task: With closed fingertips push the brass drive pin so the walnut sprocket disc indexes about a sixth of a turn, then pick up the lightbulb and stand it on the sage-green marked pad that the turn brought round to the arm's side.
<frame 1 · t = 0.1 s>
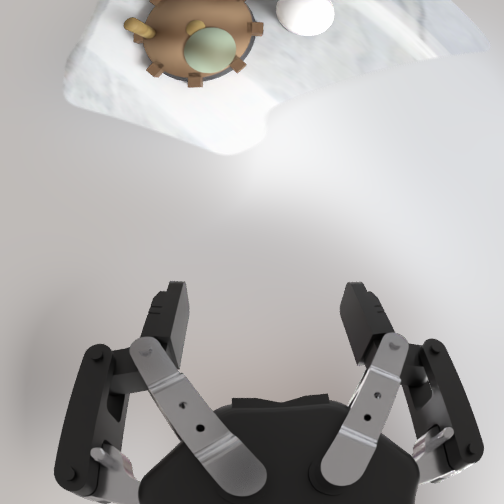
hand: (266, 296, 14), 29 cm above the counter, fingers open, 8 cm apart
lightbulb: (293, 25, 28), on the counter
sprocket: (192, 24, 24), point 5 cm above the counter, hinge at 0.0°
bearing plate: (199, 32, 28), on the counter
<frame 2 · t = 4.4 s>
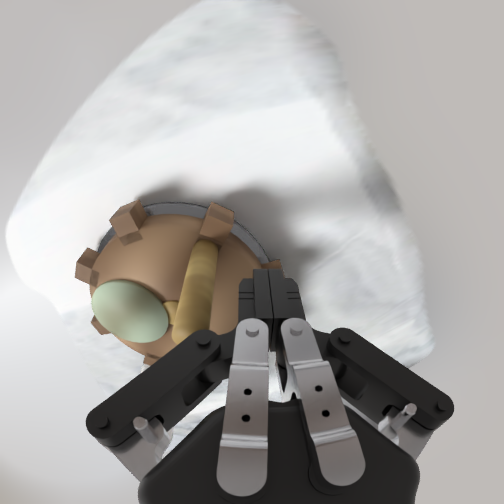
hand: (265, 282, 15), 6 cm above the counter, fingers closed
sprocket: (169, 337, 18), point 5 cm above the counter, hinge at 3.5°, touching gripper
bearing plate: (181, 288, 23), on the counter
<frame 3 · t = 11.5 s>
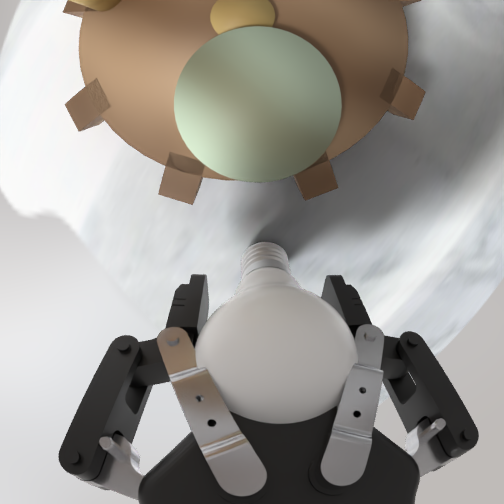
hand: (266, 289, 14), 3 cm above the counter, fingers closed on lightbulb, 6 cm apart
lightbulb: (263, 253, 17), on the counter, touching gripper
when the fingers open (8 cm above the counter, at t = 15.8 s): lightbulb drops 1 cm, resting on sprocket.
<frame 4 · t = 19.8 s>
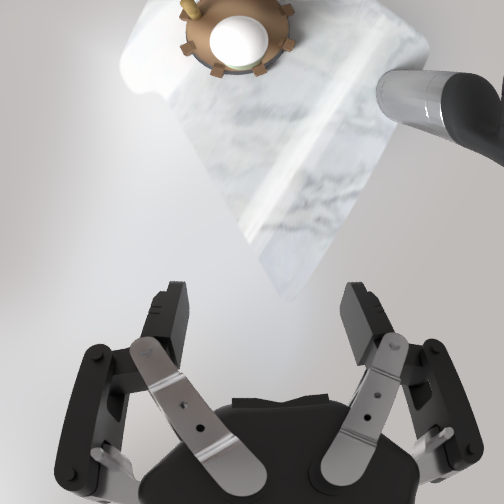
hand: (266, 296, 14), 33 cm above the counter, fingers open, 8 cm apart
lightbulb: (240, 50, 31), point 3 cm above the counter, touching sprocket
sprocket: (236, 21, 27), point 5 cm above the counter, hinge at 70.6°, touching lightbulb
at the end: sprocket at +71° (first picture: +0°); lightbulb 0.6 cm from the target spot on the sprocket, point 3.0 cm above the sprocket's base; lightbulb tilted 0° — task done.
